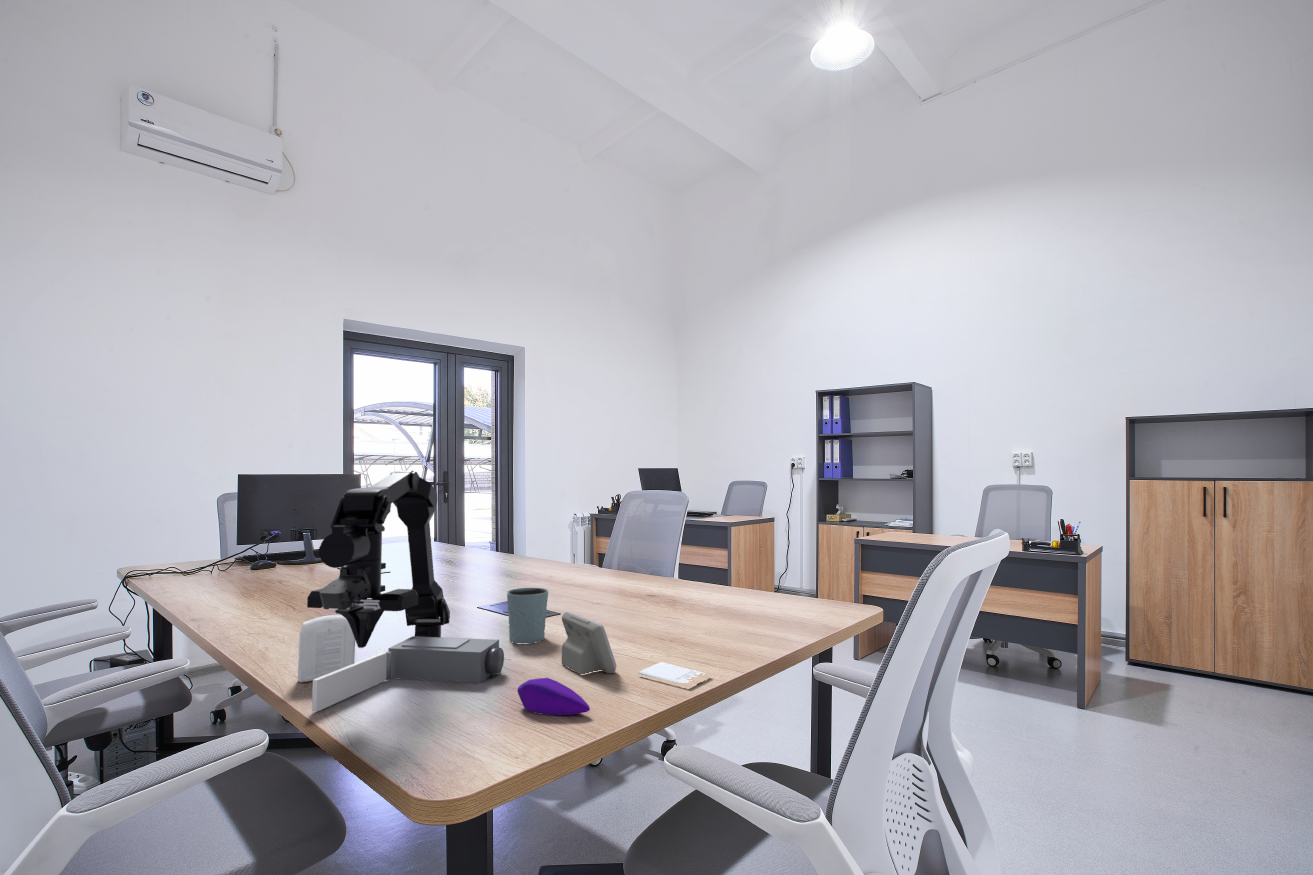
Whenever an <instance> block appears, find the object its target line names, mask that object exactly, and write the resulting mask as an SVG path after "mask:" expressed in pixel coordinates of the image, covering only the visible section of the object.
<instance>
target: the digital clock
mask: <svg viewBox="0 0 1313 875" xmlns="http://www.w3.org/2000/svg"><path fill="white" fill-rule="evenodd" d="M561 621H562V625H563V627H564V630H565V634H566V635H567V638H566V640H565V641H564V642H563V643H562V645H561V665H562V664H563V665H562V666H564V665H565V666H567V667H569V668H570V669H569V668H568V669H569V670H571V669H572V670H574V671H576V672H578V673H579V674H585V673H589V672H593V671H598V670H602V671H601V672H603V671H604V672H603V673H605V672H606V673H605V674H613V673H616V670H617V662H616V659H615V657H614V653H613V651H612V647H611V644H610V642H609V639H608V636H607V633H606V630H605V627H604V625H603V624H602V623H599V622H597V621H595V620H593V619H589V618H587V617H584V616H582V615H579V614H577V613H574V612H569V611H567V612H566V611H565V612H564V613H563V614H562V616H561ZM565 666H564V667H565ZM567 667H566V668H567ZM572 670H571V671H572ZM574 671H573V672H574ZM576 672H575V673H576ZM578 673H577V674H578ZM579 674H578V675H579Z"/></svg>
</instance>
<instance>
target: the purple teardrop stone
mask: <svg viewBox="0 0 1313 875" xmlns="http://www.w3.org/2000/svg"><path fill="white" fill-rule="evenodd" d="M517 694H518V696H519V699H520V702H521V703H522V706H523V708H524V709H525V710H527V711H528V712H530V711H531V713H533V712H536V713H535V714H538V713H542V714H541V715H545V714H550V715H549V716H568V715H569V716H571V715H578V714H581V713H582V714H583V713H589V711H590V710H591V708H590V705H589V704H588V703H587V701H586V700H584V699H583V698H582V697H581V695H579V694H578V693H577V692H575V691H574V690H573V689H571V688H570V687H568V686H566V685H564V684H563V683H561V682H559V681H557V680H555V679H552V678H549V677H539V678H533V679H528V680H526V681H524V682H522V684H520V685H519V686H518V687H517Z"/></svg>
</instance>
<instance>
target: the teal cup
mask: <svg viewBox="0 0 1313 875" xmlns="http://www.w3.org/2000/svg"><path fill="white" fill-rule="evenodd" d="M506 596H507V611H508V628H509V629H508V630H509V631H508V632H509V634H508V637H509V642H510V641H511V642H513V643H512V644H514V643H534V644H536V643H535V642H538V643H540V642H539V641H541V640H543V639H545V633H546V632H545V630H546V620H547V619H546V617H547V611H548V610H547V606H548V600H549V590H548V589H546V588H541V587H522V588H521V587H520V588H515V589H509V590H508V591H507V592H506ZM543 641H544V640H543ZM511 642H510V643H511ZM541 642H542V641H541Z"/></svg>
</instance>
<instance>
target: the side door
mask: <svg viewBox="0 0 1313 875" xmlns="http://www.w3.org/2000/svg"><path fill="white" fill-rule="evenodd" d="M391 679H392V678H391V651H382V652H381V653H378V654H375V655H373V656H370V657H368V658H365V659H362V660H358V661H357V662H354V664H352V665H349V666H347V667H344V668H342V669H339V670H336V671H334V672H331V673H329V674H326V675H324V676H321V677H319V678H316V679H313V681H312V689H311V691H312V693H311V712H313V713H317V712H320V711H321V710H324V709H325V708H328V707H330V706H333V705H335V704H337V703H340V702H342V701H343V700H346V699H348V698H351V697H352V696H355V695H356V694H359V693H361V692H363V691H365V690H367V689H370V688H372V687H375V686H376V685H379V684H381V683H384V682H385V681H390V680H391Z"/></svg>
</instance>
